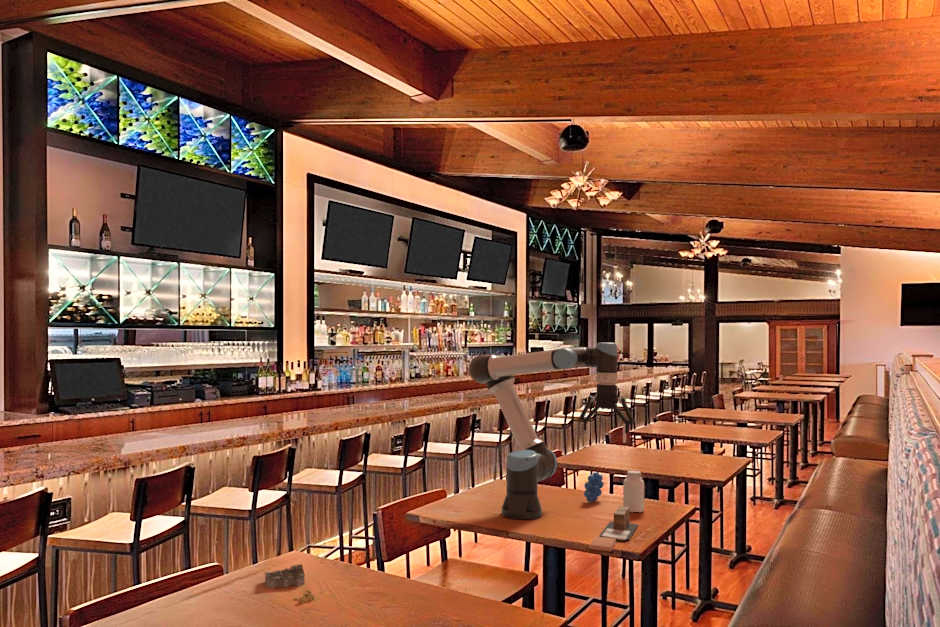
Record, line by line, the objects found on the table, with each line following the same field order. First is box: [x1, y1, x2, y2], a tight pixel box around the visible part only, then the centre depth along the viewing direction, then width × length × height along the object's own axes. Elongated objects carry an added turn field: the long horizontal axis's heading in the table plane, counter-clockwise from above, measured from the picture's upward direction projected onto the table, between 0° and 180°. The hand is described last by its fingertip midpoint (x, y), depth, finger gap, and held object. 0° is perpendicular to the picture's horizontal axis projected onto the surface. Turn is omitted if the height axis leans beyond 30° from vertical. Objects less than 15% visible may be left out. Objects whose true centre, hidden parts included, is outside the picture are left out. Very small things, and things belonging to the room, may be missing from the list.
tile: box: [588, 535, 617, 553], centre depth 244 cm, size 7×2×10 cm
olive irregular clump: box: [293, 589, 315, 605], centre depth 194 cm, size 5×5×2 cm
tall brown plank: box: [602, 505, 631, 541], centre depth 259 cm, size 22×8×6 cm, turn 159°
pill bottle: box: [622, 470, 645, 513], centre depth 290 cm, size 8×8×15 cm
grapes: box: [583, 471, 605, 503], centre depth 304 cm, size 12×7×12 cm, turn 134°
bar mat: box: [598, 521, 639, 541], centre depth 260 cm, size 10×20×1 cm, turn 159°
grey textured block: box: [264, 563, 305, 590], centre depth 205 cm, size 11×8×4 cm
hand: (606, 440), depth 278 cm, fingers open, 13 cm apart
